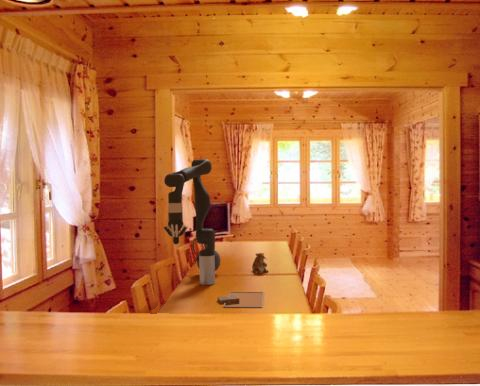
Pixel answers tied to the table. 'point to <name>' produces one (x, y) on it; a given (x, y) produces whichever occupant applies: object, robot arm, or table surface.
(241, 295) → the picture frame
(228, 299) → the walnut tile
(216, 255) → the pitcher
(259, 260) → the brown bear figurine
